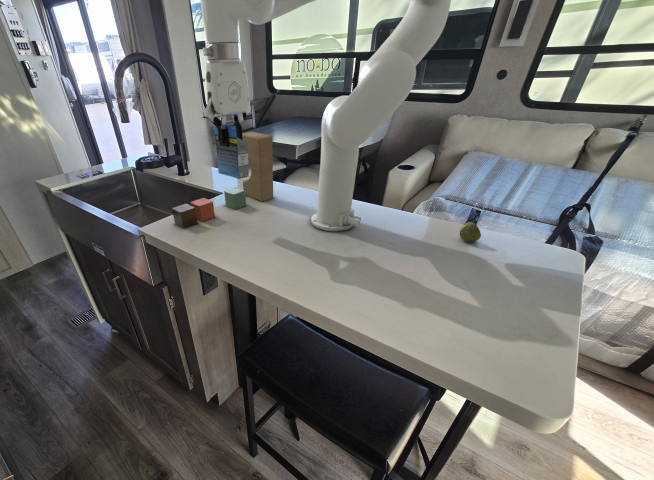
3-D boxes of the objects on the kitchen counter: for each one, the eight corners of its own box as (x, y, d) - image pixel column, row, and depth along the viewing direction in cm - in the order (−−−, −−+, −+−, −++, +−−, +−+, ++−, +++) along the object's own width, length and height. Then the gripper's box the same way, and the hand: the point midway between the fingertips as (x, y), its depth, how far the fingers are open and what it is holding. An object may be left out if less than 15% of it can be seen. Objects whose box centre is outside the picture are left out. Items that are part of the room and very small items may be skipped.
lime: (458, 235, 82) (465, 217, 79) (479, 240, 80) (487, 222, 77) (454, 241, 80) (461, 223, 77) (475, 247, 77) (483, 228, 74)
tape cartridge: (249, 176, 82) (248, 124, 75) (238, 179, 80) (235, 126, 73) (228, 170, 88) (224, 121, 80) (217, 173, 85) (212, 122, 78)
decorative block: (242, 194, 114) (238, 133, 102) (255, 190, 116) (252, 131, 104) (261, 202, 107) (258, 138, 95) (274, 198, 109) (273, 135, 97)
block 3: (246, 205, 105) (245, 190, 102) (234, 209, 102) (233, 194, 99) (237, 201, 108) (235, 187, 105) (225, 205, 105) (224, 191, 102)
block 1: (197, 223, 95) (194, 207, 92) (183, 228, 92) (180, 212, 89) (189, 218, 98) (186, 203, 95) (175, 223, 95) (171, 208, 92)
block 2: (215, 216, 98) (212, 201, 95) (201, 221, 96) (199, 206, 93) (206, 212, 101) (203, 197, 98) (193, 217, 99) (190, 202, 96)
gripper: (202, 54, 62) (214, 152, 73) (262, 53, 71) (264, 140, 82) (182, 55, 66) (196, 148, 77) (241, 54, 75) (245, 137, 86)
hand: (231, 143), depth 79 cm, fingers closed on tape cartridge, 3 cm apart
